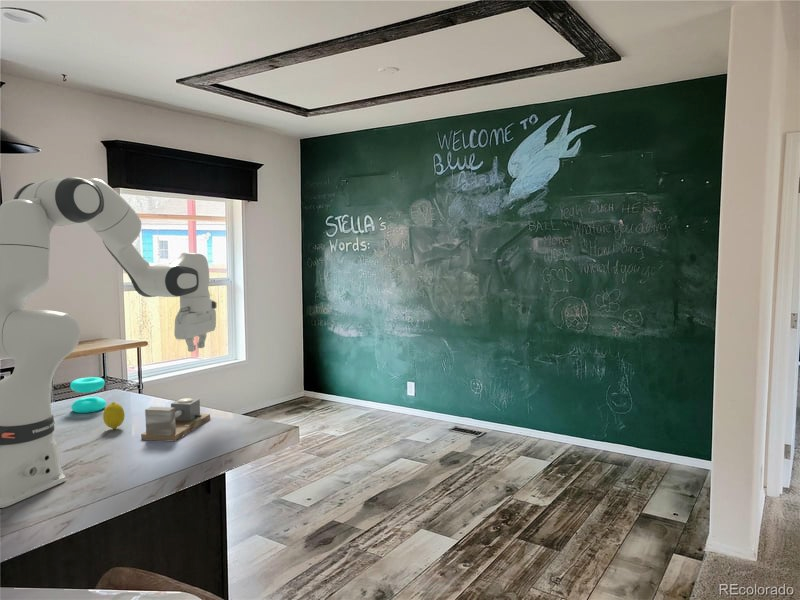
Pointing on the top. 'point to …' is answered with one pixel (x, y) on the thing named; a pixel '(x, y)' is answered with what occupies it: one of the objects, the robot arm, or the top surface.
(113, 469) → the top surface
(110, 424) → the lemon
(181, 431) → the bench
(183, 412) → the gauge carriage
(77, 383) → the donuts
